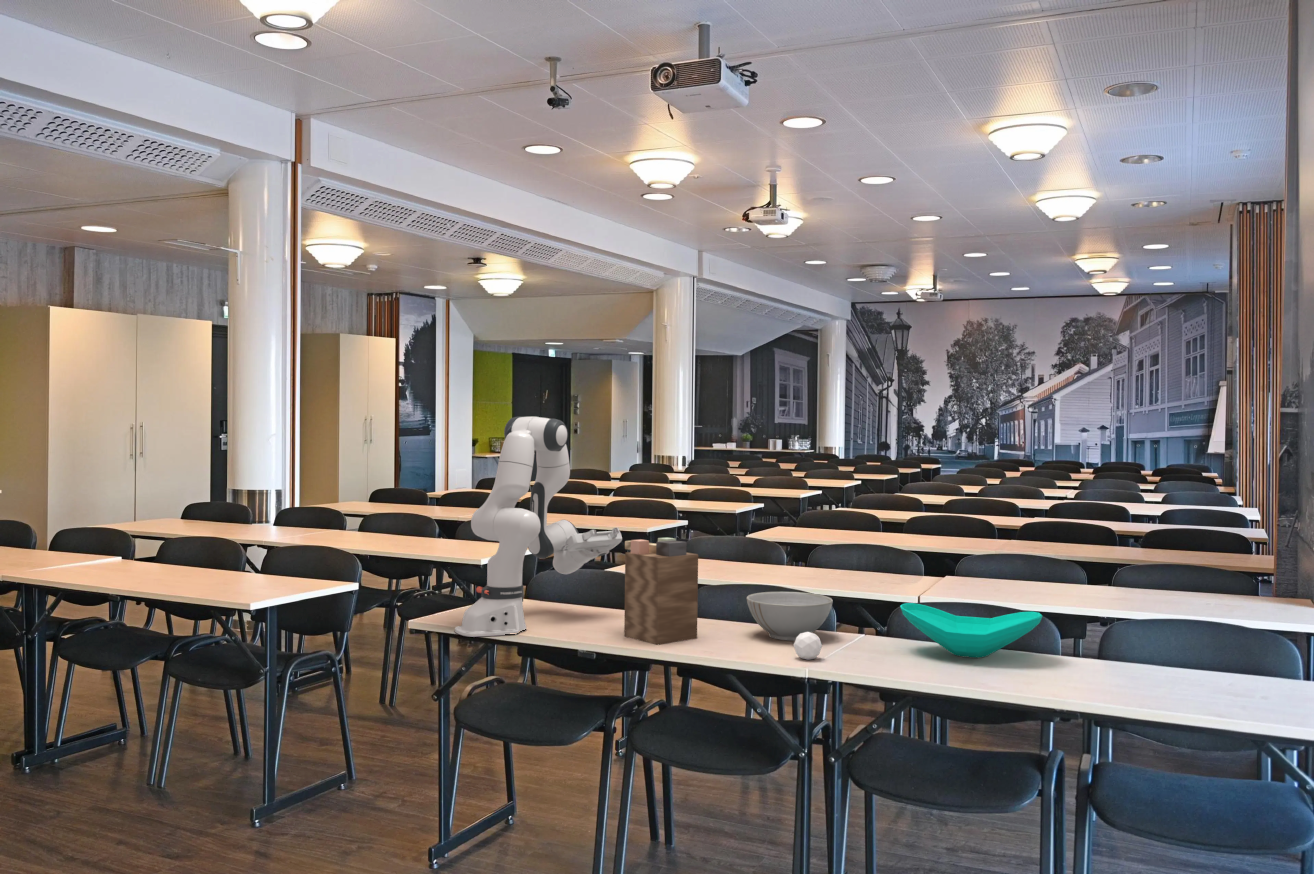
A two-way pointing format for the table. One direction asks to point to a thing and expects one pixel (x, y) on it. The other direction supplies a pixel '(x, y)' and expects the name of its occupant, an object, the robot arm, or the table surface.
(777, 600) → the decorative bowl
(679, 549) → the mallet
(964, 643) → the table top decor
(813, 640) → the geometric ball
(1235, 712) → the table surface
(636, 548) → the terracotta block
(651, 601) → the pedestal
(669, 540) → the sage block
